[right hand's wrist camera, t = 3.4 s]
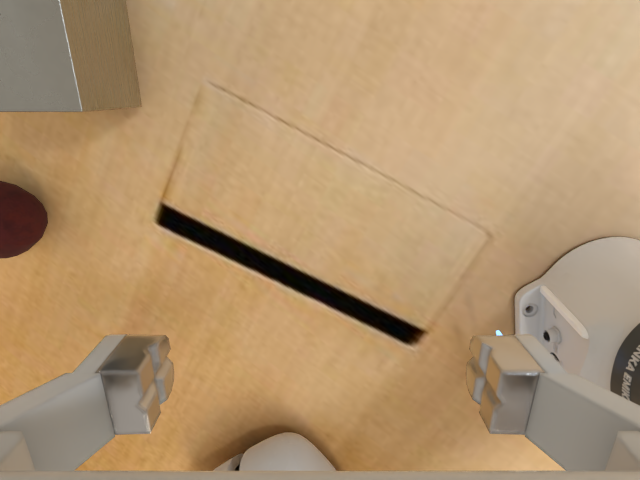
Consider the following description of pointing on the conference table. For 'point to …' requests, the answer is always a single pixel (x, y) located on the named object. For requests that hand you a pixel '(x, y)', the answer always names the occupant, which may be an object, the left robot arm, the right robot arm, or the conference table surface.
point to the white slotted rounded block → (279, 456)
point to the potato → (19, 220)
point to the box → (66, 56)
